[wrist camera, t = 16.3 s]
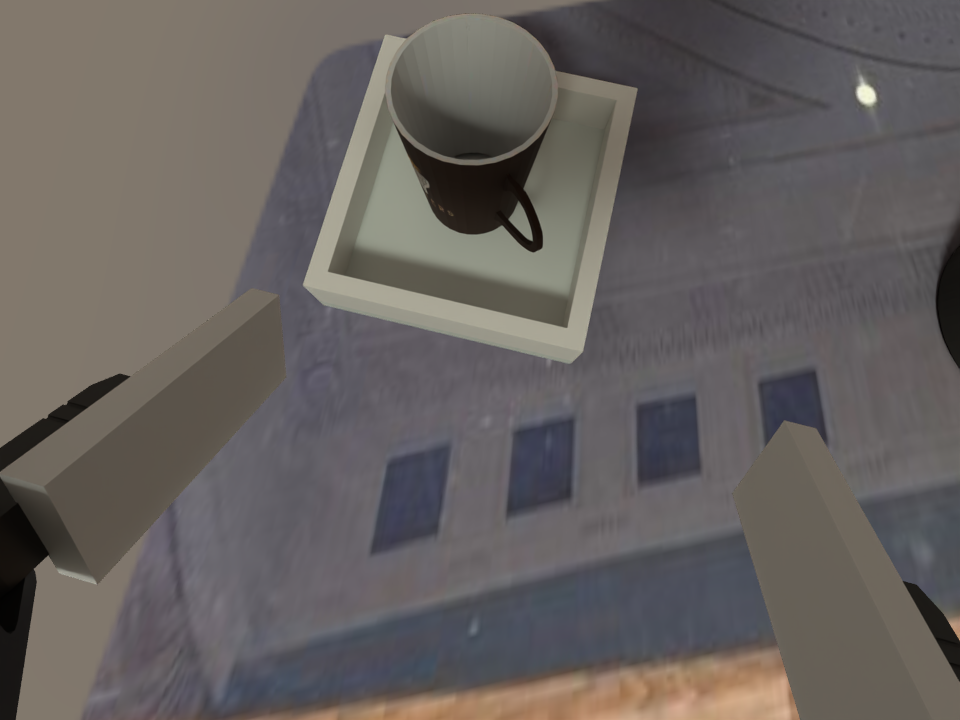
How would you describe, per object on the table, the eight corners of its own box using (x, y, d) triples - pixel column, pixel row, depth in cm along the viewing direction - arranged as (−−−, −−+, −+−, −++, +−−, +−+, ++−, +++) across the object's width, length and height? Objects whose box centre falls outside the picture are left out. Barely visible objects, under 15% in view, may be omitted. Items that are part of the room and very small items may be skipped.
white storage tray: (620, 128, 36) (637, 88, 32) (570, 363, 33) (582, 351, 29) (395, 79, 37) (385, 34, 33) (323, 304, 33) (302, 285, 29)
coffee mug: (412, 138, 35) (386, 14, 25) (532, 136, 35) (553, 12, 25) (411, 293, 32) (382, 225, 23) (539, 291, 33) (565, 222, 23)
